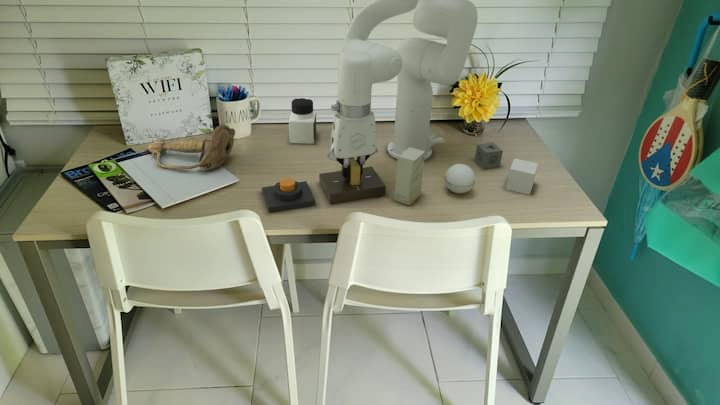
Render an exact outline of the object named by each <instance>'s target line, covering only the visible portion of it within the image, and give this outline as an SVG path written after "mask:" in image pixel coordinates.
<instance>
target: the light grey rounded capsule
mask: <svg viewBox="0 0 720 405" xmlns="http://www.w3.org/2000/svg"><path fill="white" fill-rule="evenodd" d="M444 182H445V185H446V187H447V189H449V190H450V191H451V192H452V193H456V194H464V193H467V192H470V190H472V188H473V187H474V184H475V183H476V176H475V172H474V170H473V169H472V167H470V166H469V165H467V164H463V163H456V164H453V165H451V166H450V167H449V168H448V169H447V170H446V173H445V175H444Z"/></svg>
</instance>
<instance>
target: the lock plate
mask: <svg viewBox="0 0 720 405" xmlns="http://www.w3.org/2000/svg"><path fill="white" fill-rule="evenodd" d="M318 175H319V176H318V177H319V185H320V188H321V189H322V191H323V194H324V195H325V197H326V199H327V201H328V203H329V205H338V204H343V203H349V202H357V201H363V200H369V199H376V198H377V199H378V198H384V197H386V191H387V185H386V184H385V183H384V181H383V180H382V178H381V176H379V173H377V171H376V170H375V168H374V167H373V166H365V167H363V174H362V175H361V180H360V184H359V185H353V186H352V185H351V183H350V182H347V181H346V179H345V177H343V176H342V170H336V171H330V172H329V171H328V172H321V173H319V174H318Z"/></svg>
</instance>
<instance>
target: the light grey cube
mask: <svg viewBox="0 0 720 405" xmlns="http://www.w3.org/2000/svg"><path fill="white" fill-rule="evenodd" d="M538 167H539V163H537V162H533V161H528V160H523V159H519V158H513V161H512V164H511V166H510V168H509V173H508V177H507V182H506V187H505V190H507V191H512V192H516V193H520V194H524V195H528V196H530V195H531V192H532V190H533V187H534V183H535V178H536V175H537V171H538Z"/></svg>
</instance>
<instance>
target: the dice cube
mask: <svg viewBox="0 0 720 405" xmlns="http://www.w3.org/2000/svg"><path fill="white" fill-rule="evenodd" d="M502 156H503V149H502V148H501V147H500V146H499V145H497V144H496V143H495V142H493V141H492V142H484V143H477V144H476V149H475V155H474V162H475V163H476V164H477V165H478V166H479V167H480V168H481V169H482V170H486V169H494V168H500V166H501V161H502Z"/></svg>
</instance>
